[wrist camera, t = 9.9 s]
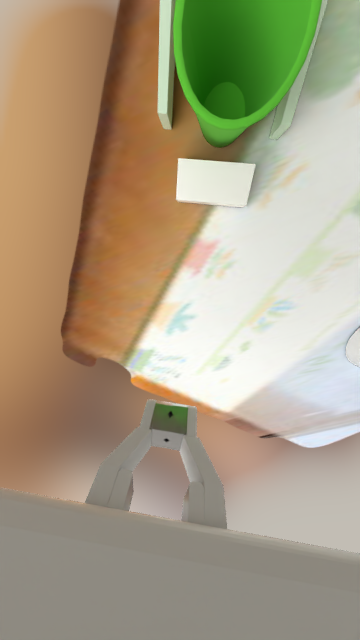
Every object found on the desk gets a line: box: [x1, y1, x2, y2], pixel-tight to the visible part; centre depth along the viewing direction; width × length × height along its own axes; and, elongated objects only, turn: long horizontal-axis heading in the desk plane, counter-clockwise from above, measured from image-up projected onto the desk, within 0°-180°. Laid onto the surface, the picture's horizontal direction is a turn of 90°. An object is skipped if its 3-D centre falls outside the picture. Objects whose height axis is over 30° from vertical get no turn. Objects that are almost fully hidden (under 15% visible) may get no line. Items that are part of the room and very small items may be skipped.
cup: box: [173, 0, 322, 147], centre depth 15 cm, size 9×9×11 cm
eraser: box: [176, 158, 256, 208], centre depth 22 cm, size 9×4×4 cm, turn 86°
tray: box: [158, 0, 328, 140], centre depth 17 cm, size 14×9×4 cm, turn 84°
